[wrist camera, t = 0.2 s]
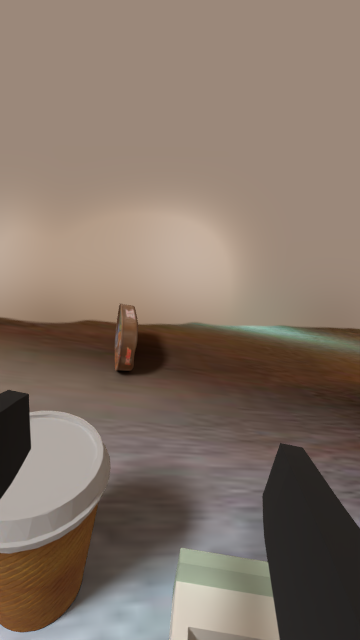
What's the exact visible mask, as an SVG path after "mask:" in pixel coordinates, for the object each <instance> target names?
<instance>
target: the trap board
mask: <svg viewBox="0 0 360 640" xmlns="http://www.w3.org/2000/svg"><path fill="white" fill-rule="evenodd" d="M169 640H280V638H279V632H278V625H277V619H276V612H275V606H274V599H273V592H272V586H271V579H270V573H269V566H268V562H265V561H258V560H252V559H246V558H240V557H234V556H228V555H222V554H216V553H210V552H204V551H198V550H191V549H185V548H181V549H180V554H179V560H178V565H177V571H176V577H175V582H174V588H173V599H172V610H171V622H170V633H169Z"/></svg>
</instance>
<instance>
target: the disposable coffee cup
mask: <svg viewBox="0 0 360 640" xmlns="http://www.w3.org/2000/svg"><path fill="white" fill-rule="evenodd" d="M30 433H31V450H30V452H29V454H28V455H27V457H26V459H25V461H24V463H23V465H22V466H21V468H20V470H19V472H18V473H17V475H16V477H15V479H14V480H13V482H12V484H11V485H10V486H9V488H8V489H7V491H6V492H5V494H4V495H3V496H2V498H1V499H0V624H1V625H2V626H3V627H5V628H7V629H9V630H11V631H16V632H28V631H35V630H38V629H41V628H43V627H45V626H47V625H49V624H50V623H52V622H54V621H55V620H56V619H58V618H59V617H60V616H61V615H62V614H63V613H64V612H65V611H66V610H67V609H68V608H69V607H70V605H71V604H72V602H73V601H74V600H75V598H76V596H77V594H78V592H79V589H80V586H81V583H82V578H83V573H84V568H85V563H86V559H87V554H88V549H89V545H90V540H91V535H92V530H93V526H94V521H95V516H96V511H97V507H98V502H99V500H100V498H101V496H102V494H103V492H104V490H105V488H106V486H107V484H108V480H109V475H110V457H109V454H108V452H107V449H106V447H105V445H104V444H103V442H102V440H101V437H100V435H99V434H98V433H97V431H96V430H95V428H94V427H93V426H92V425H90V424H89V423H88V422H86V421H85V420H83V419H82V418H79V417H77V416H74V415H71V414H69V413H64V412H57V411H37V412H30Z"/></svg>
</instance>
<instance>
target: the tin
mask: <svg viewBox="0 0 360 640" xmlns="http://www.w3.org/2000/svg"><path fill="white" fill-rule="evenodd" d="M137 340H138V322H137V316H136V311H135V307H134V306H131V305H123V304H120V306H119V311H118V318H117V327H116V336H115V370H116V371H117V370H123V371H131V370H132V369H133V367H134V355H135V349H136V346H137Z"/></svg>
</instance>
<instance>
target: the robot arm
mask: <svg viewBox="0 0 360 640" xmlns="http://www.w3.org/2000/svg"><path fill="white" fill-rule="evenodd" d="M30 450H31V433H30V413H29V394H26V393H21V392H16V391H11V390H7V391H5V392H3V393H1V394H0V499H1V498H2V496H3V495H4V494H5V492H6V491H7V489H8V488H9V486H10V485H11V484H12V482H13V480H14V479H15V477H16V475H17V473H18V472H19V470H20V468H21V466H22V465H23V463H24V461H25V459H26V457H27V455H28V454H29V452H30ZM263 523H264V538H265V545H266V552H267V559H268V566H269V573H270V579H271V586H272V592H273V599H274V606H275V612H276V619H277V625H278V632H279V638H280V640H360V528H359V527H358V526H357V524H356V523H355V522H354V520H353V519H352V517H351V516H350V515H349V513H348V512H347V511H346V509H345V508H344V506H343V505H342V504H341V502H340V501H339V499H338V498H337V497H336V495H335V494H334V492H333V491H332V489H331V488H330V487H329V485H328V484H327V482H326V481H325V479H324V478H323V476H322V475H321V474H320V472H319V471H318V469H317V468H316V466H315V465H314V463H313V462H312V460H311V459H310V457H309V456H308V455H307V453H306V452H305V450H304V449H303V448H302V447H297V446H292V445H287V444H281V443H280V446H279V449H278V451H277V454H276V457H275V460H274V463H273V466H272V469H271V472H270V475H269V478H268V481H267V484H266V487H265V490H264V493H263Z"/></svg>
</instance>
